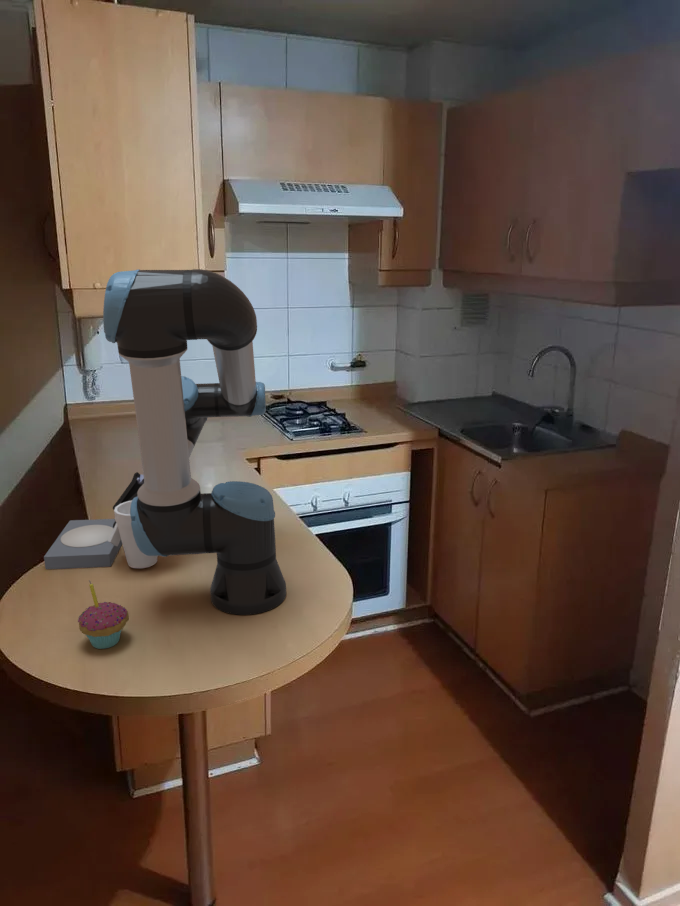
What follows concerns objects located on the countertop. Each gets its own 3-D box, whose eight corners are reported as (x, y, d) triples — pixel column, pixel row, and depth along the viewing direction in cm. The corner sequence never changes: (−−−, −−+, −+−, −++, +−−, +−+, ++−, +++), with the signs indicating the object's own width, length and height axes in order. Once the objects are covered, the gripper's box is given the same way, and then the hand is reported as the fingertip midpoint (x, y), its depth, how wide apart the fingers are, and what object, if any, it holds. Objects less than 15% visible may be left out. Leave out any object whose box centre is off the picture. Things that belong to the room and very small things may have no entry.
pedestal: (110, 566, 156) (109, 552, 155) (45, 569, 155) (43, 555, 154) (129, 529, 175) (127, 517, 174) (71, 531, 174) (69, 519, 173)
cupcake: (71, 649, 125) (62, 589, 122) (102, 625, 133) (95, 567, 129) (110, 659, 122) (103, 597, 119) (140, 633, 130) (134, 575, 126)
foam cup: (147, 548, 162) (142, 496, 158) (173, 560, 157) (168, 505, 153) (111, 563, 155) (105, 508, 151) (137, 575, 150) (130, 519, 146)
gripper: (219, 471, 159) (181, 563, 150) (142, 458, 168) (101, 545, 159) (203, 455, 153) (162, 550, 144) (124, 443, 162) (81, 532, 153)
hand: (130, 547), depth 152 cm, fingers closed on foam cup, 9 cm apart
